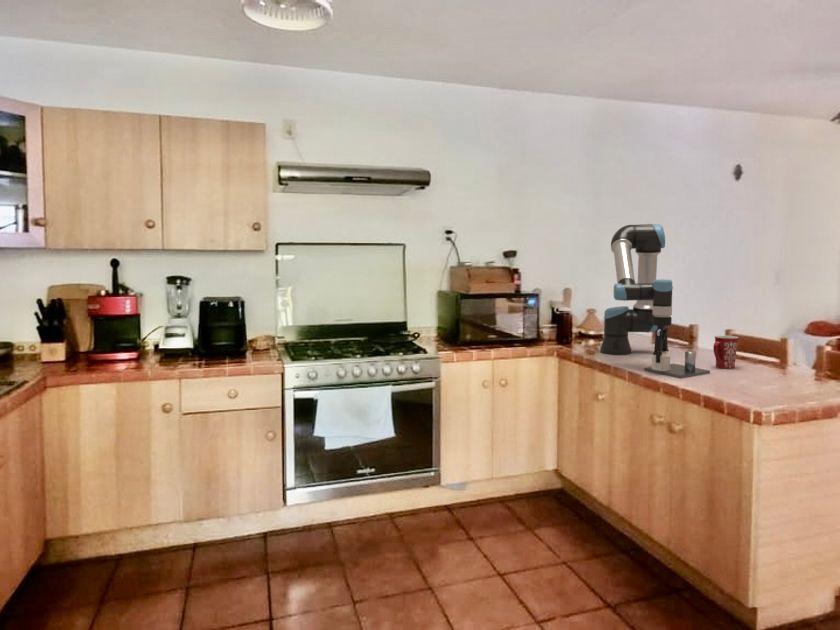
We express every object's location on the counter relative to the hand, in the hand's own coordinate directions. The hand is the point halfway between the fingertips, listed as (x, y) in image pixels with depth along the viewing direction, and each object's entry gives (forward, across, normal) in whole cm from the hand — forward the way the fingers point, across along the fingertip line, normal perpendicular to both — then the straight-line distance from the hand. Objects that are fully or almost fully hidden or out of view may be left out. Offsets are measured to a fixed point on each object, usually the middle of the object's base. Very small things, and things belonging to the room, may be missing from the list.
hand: (660, 368), depth 237 cm
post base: (+2, -3, +6) cm, 7 cm away
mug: (+2, -22, +21) cm, 30 cm away
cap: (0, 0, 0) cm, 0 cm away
